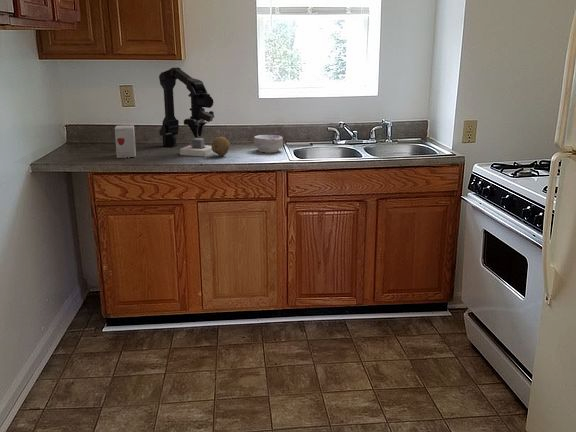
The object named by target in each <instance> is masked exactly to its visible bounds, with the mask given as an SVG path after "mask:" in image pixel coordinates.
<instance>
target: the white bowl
mask: <svg viewBox="0 0 576 432" xmlns="http://www.w3.org/2000/svg"><path fill="white" fill-rule="evenodd" d="M283 138H284V137H283V136H281V135H277V134H276V135H275V134H258V135H255V136H253V146H254V147H256V148H257V150H258V151H259V152H260V153H263V152H265V153H266V154H273V152H274V153H277V152H279V149H280V148H282V147H283V146H284V145H283V142H284V140H283ZM265 153H264V154H265Z"/></svg>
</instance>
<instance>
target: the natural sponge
mask: <svg viewBox="0 0 576 432" xmlns="http://www.w3.org/2000/svg"><path fill="white" fill-rule="evenodd" d="M230 145H231V143H230V140H229V139H227V138H226V137H225V136H218V137H216V138H214V140H213V141H212V144H211V146H212V151H213V152H215V153H214V154H217V155H218V156H219V157H224V156H226V154H227V153H229V148H230Z"/></svg>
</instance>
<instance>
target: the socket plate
mask: <svg viewBox="0 0 576 432" xmlns="http://www.w3.org/2000/svg"><path fill="white" fill-rule="evenodd" d="M213 154H216V153H215V152H213V151H212V145H205V148H203V149H196V148H192V143H191V144H189V145H186V146H184V147H182V148H179V155H181V156H191V157H192V156H194V157H207V156H210V155H213Z"/></svg>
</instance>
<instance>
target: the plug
mask: <svg viewBox="0 0 576 432" xmlns="http://www.w3.org/2000/svg"><path fill="white" fill-rule="evenodd" d="M191 144H192V148H196V149H203V148H205V139H204V138H202V137H201V138H199V137H197V138H195V137H194V138H193V139H191Z"/></svg>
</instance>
